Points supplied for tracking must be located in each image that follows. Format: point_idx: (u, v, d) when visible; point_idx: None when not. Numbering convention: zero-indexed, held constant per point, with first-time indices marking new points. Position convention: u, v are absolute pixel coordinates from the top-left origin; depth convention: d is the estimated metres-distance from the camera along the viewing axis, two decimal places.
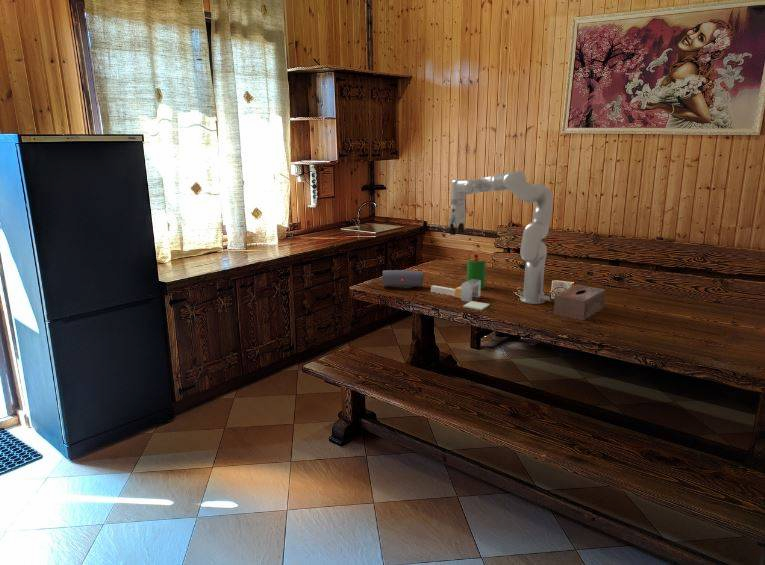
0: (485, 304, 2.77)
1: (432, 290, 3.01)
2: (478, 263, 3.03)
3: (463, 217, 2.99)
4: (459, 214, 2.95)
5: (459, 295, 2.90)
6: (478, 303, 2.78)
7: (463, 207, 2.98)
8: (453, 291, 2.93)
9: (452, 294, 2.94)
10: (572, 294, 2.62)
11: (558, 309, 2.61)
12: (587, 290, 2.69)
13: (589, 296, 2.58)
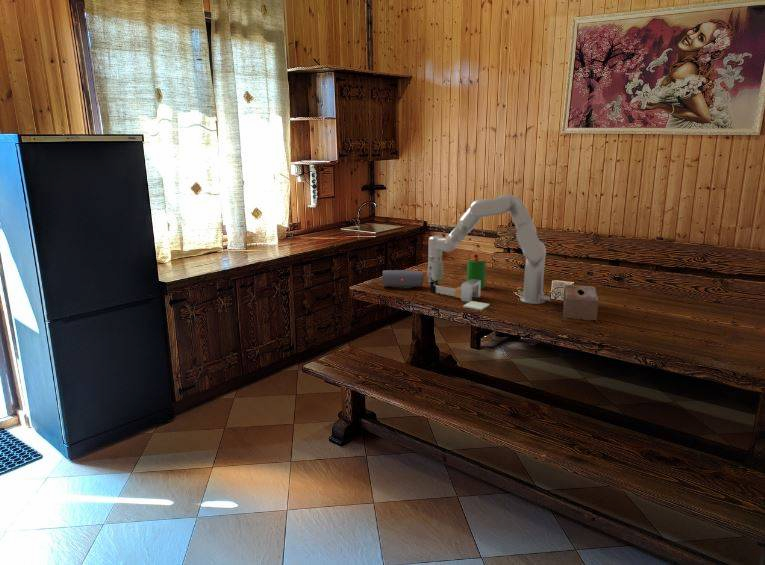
0: (485, 304, 2.77)
1: None
2: (478, 263, 3.03)
3: (440, 273, 2.99)
4: (436, 271, 2.95)
5: (459, 295, 2.90)
6: (478, 303, 2.78)
7: (440, 264, 2.97)
8: (453, 291, 2.93)
9: (452, 294, 2.94)
10: (578, 295, 2.60)
11: (569, 312, 2.57)
12: (582, 289, 2.70)
13: (595, 296, 2.59)
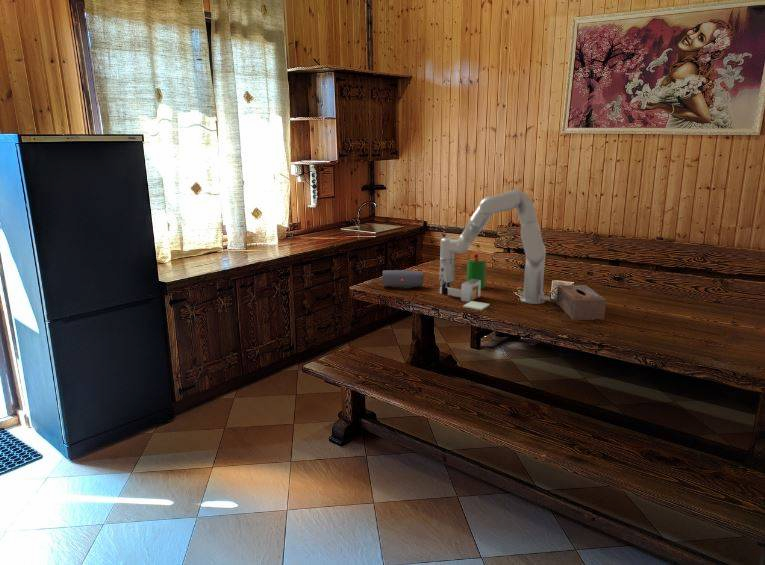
0: (485, 304, 2.77)
1: (441, 291, 2.98)
2: (478, 263, 3.03)
3: (452, 275, 2.95)
4: (448, 273, 2.91)
5: None
6: (478, 303, 2.78)
7: (452, 266, 2.94)
8: None
9: None
10: (582, 296, 2.59)
11: (578, 313, 2.55)
12: (579, 289, 2.71)
13: (597, 295, 2.61)
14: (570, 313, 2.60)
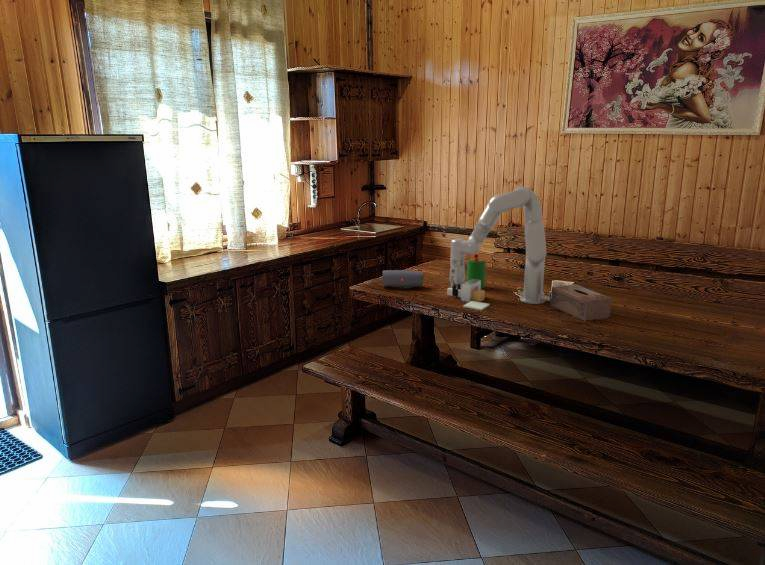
0: (485, 304, 2.77)
1: (448, 293, 2.95)
2: (478, 263, 3.03)
3: (463, 277, 2.92)
4: (459, 275, 2.87)
5: (476, 298, 2.85)
6: (478, 303, 2.78)
7: (463, 267, 2.90)
8: None
9: None
10: (587, 296, 2.59)
11: (589, 314, 2.54)
12: (575, 289, 2.71)
13: (598, 293, 2.63)
14: (578, 314, 2.58)
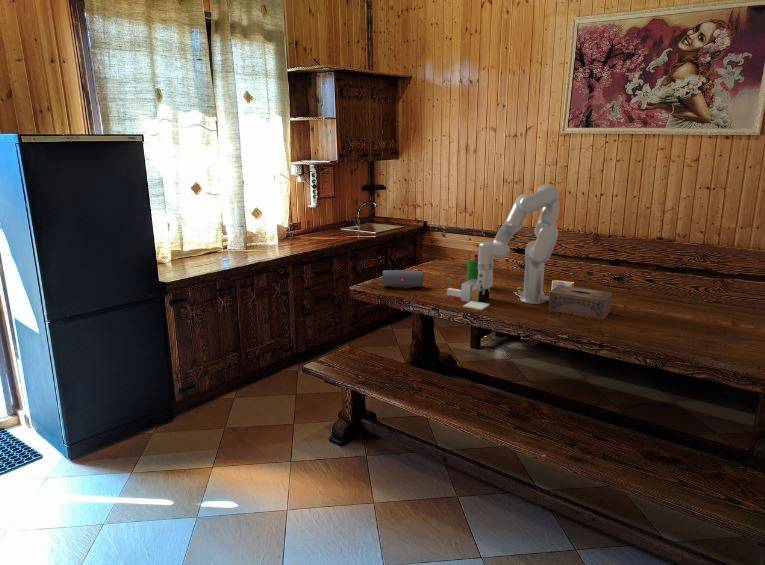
0: (485, 304, 2.77)
1: (448, 293, 2.95)
2: None
3: (491, 281, 2.83)
4: (487, 279, 2.79)
5: (476, 298, 2.85)
6: (478, 303, 2.78)
7: (491, 271, 2.81)
8: None
9: None
10: (594, 295, 2.61)
11: (604, 312, 2.57)
12: (570, 290, 2.70)
13: (594, 290, 2.68)
14: (593, 314, 2.58)
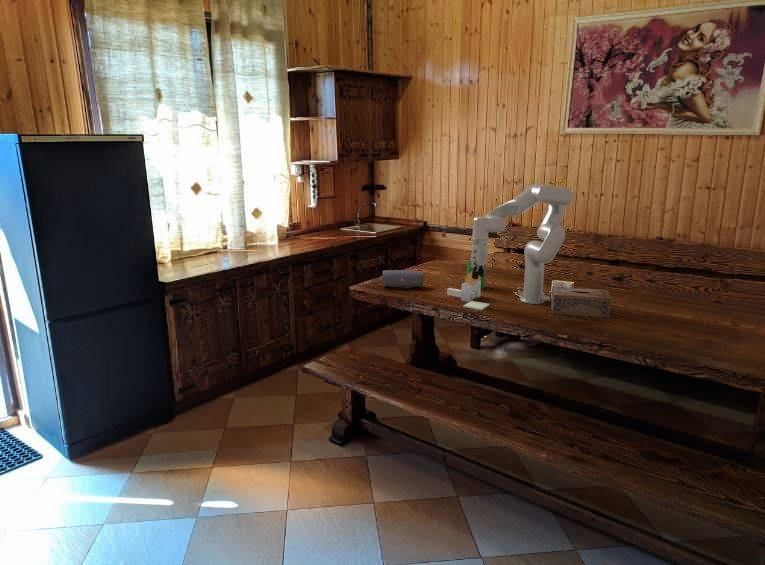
0: (485, 304, 2.77)
1: (448, 293, 2.95)
2: None
3: (485, 258, 2.71)
4: (481, 255, 2.66)
5: (472, 280, 2.73)
6: (478, 303, 2.78)
7: (485, 247, 2.69)
8: None
9: None
10: (595, 293, 2.63)
11: None
12: (569, 290, 2.68)
13: (590, 289, 2.70)
14: (599, 313, 2.59)
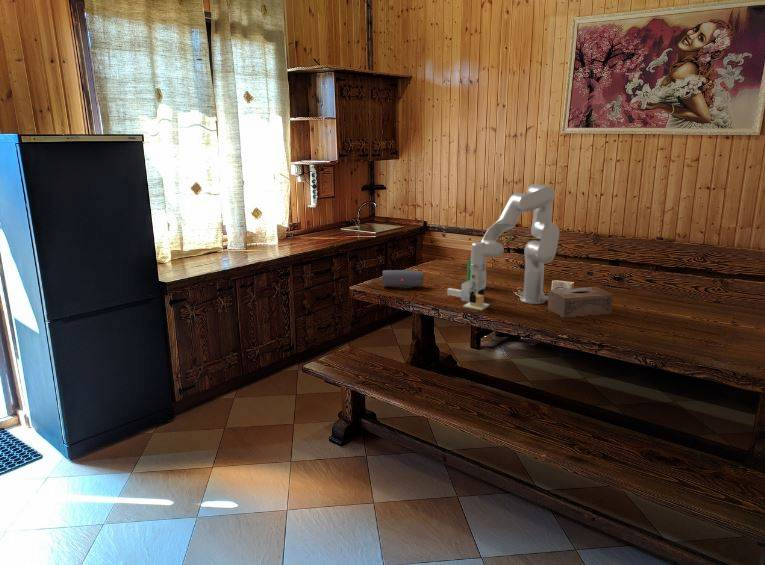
0: (485, 304, 2.77)
1: (448, 293, 2.95)
2: None
3: (484, 283, 2.73)
4: (480, 280, 2.69)
5: (475, 303, 2.73)
6: None
7: (484, 272, 2.72)
8: None
9: None
10: (594, 292, 2.66)
11: None
12: (569, 292, 2.66)
13: (582, 288, 2.73)
14: (603, 311, 2.63)
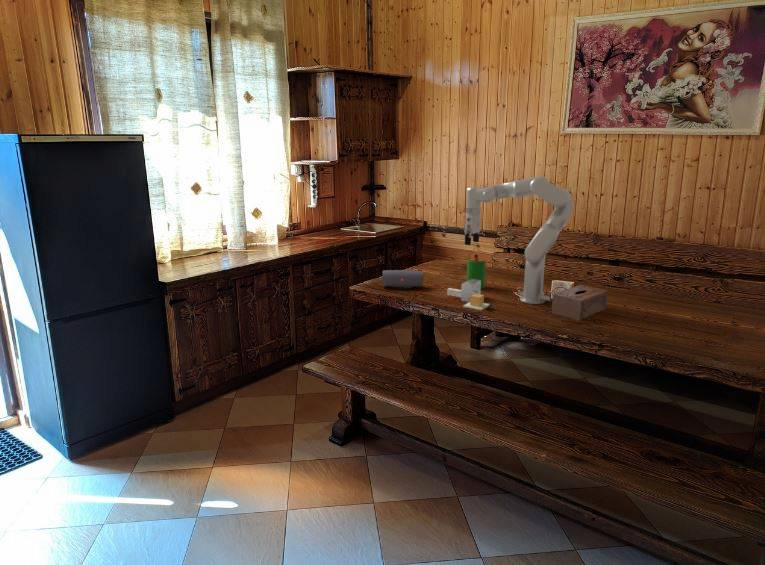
0: (485, 304, 2.77)
1: (448, 293, 2.95)
2: (478, 263, 3.03)
3: (478, 226, 2.87)
4: (474, 223, 2.82)
5: (475, 303, 2.73)
6: None
7: (478, 216, 2.85)
8: None
9: None
10: (590, 290, 2.69)
11: None
12: (572, 293, 2.63)
13: (574, 287, 2.74)
14: (601, 307, 2.68)
